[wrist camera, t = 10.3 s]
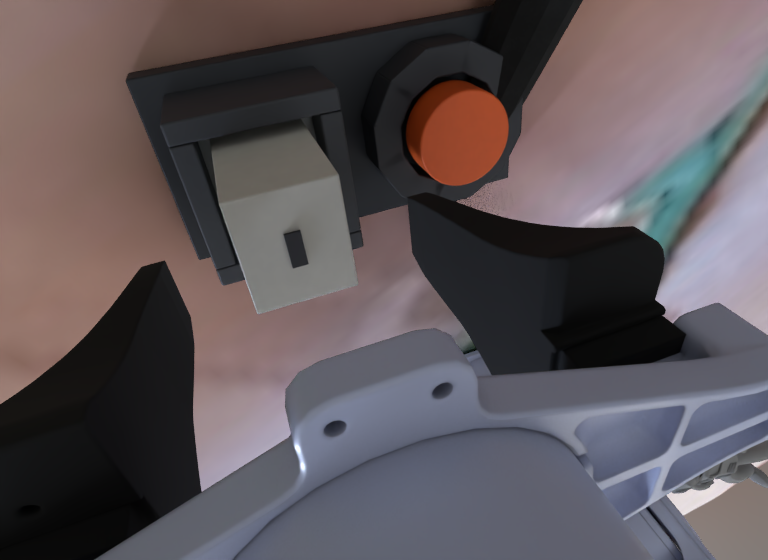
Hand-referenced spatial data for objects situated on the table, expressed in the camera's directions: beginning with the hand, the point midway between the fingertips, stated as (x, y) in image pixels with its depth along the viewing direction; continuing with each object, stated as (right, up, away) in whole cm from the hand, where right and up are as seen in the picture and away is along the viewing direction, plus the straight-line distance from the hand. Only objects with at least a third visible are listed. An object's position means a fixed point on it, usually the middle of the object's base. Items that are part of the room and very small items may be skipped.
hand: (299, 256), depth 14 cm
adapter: (+1, +6, +8) cm, 10 cm away
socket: (-3, +5, +7) cm, 10 cm away
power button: (+5, +6, +7) cm, 11 cm away
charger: (-2, +3, +5) cm, 6 cm away
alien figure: (+41, -21, +44) cm, 63 cm away
